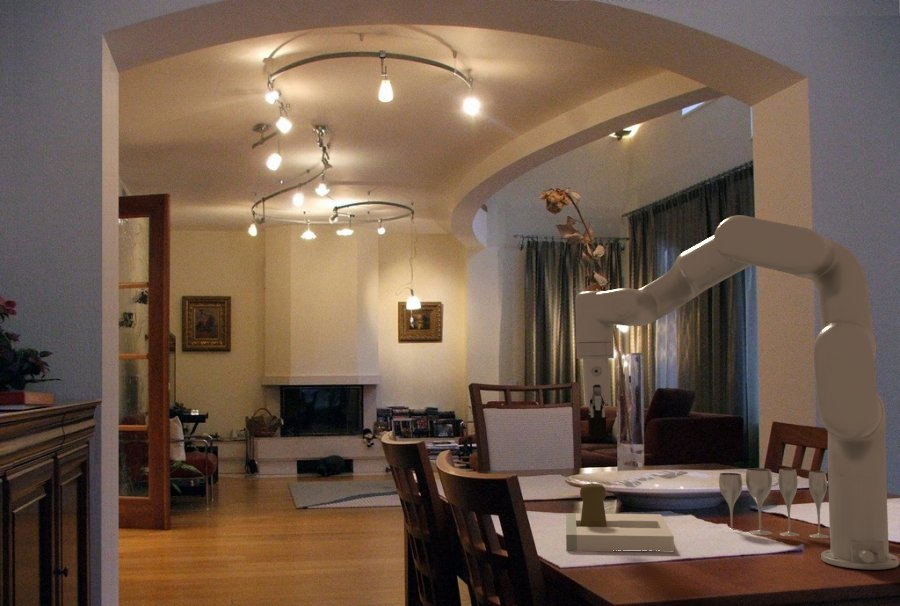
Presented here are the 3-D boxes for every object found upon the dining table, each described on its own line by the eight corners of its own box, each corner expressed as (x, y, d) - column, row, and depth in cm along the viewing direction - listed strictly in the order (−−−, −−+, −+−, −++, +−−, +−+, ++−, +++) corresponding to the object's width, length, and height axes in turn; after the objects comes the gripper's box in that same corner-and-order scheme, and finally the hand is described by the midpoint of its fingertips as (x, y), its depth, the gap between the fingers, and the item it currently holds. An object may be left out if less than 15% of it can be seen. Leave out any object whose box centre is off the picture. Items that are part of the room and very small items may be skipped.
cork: (608, 542, 185) (607, 486, 186) (577, 541, 186) (576, 485, 187) (609, 536, 191) (608, 482, 192) (579, 535, 192) (578, 481, 193)
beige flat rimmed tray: (673, 552, 175) (673, 536, 175) (566, 550, 178) (566, 534, 178) (661, 528, 199) (660, 514, 199) (566, 527, 201) (566, 513, 202)
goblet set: (718, 533, 194) (717, 468, 195) (721, 528, 200) (720, 465, 200) (866, 542, 184) (863, 474, 184) (865, 536, 189) (862, 470, 190)
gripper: (616, 351, 182) (618, 439, 181) (611, 351, 199) (613, 432, 198) (577, 351, 183) (579, 439, 182) (575, 352, 200) (577, 432, 199)
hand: (597, 435), depth 190 cm, fingers open, 9 cm apart
